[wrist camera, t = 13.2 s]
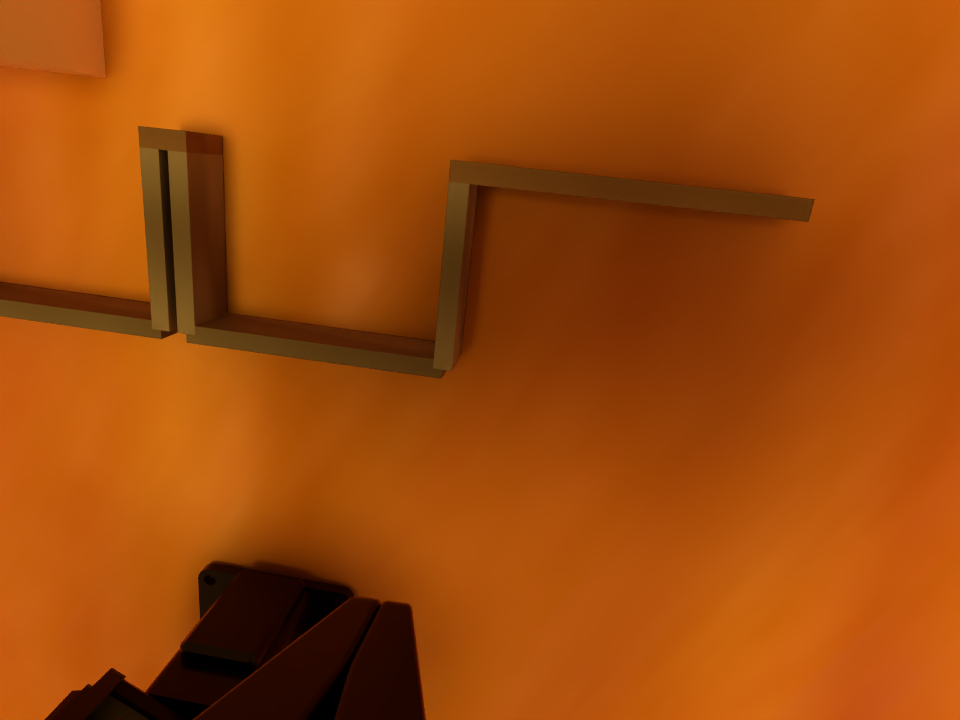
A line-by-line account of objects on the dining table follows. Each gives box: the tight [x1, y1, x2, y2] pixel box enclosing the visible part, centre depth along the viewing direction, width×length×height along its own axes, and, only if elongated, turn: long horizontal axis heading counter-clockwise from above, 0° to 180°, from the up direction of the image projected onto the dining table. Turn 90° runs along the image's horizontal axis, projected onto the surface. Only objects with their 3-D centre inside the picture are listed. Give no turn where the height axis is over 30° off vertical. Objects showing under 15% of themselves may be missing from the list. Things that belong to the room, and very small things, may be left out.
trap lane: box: [0, 126, 815, 379], centre depth 17 cm, size 15×33×3 cm, turn 84°
